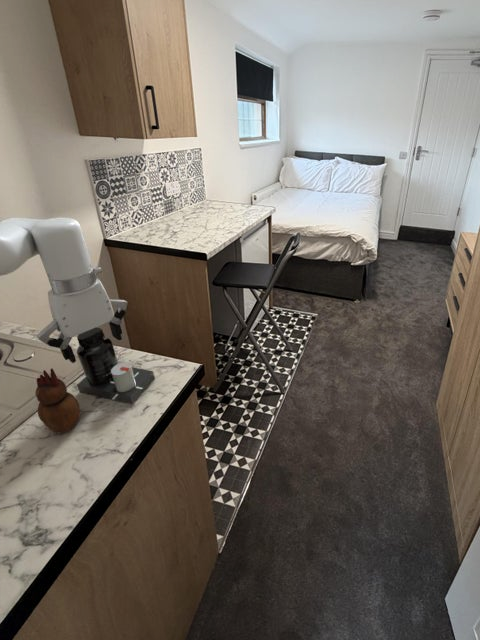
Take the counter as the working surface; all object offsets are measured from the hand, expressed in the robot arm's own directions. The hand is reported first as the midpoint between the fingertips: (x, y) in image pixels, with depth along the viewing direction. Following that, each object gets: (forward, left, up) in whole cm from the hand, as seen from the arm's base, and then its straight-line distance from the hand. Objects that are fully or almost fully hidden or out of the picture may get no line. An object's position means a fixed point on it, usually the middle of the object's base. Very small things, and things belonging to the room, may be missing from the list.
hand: (95, 348), depth 72 cm
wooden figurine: (+5, -10, -11) cm, 16 cm away
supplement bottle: (0, 0, -8) cm, 8 cm away
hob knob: (+7, +1, -8) cm, 11 cm away
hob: (+3, +1, -10) cm, 11 cm away
